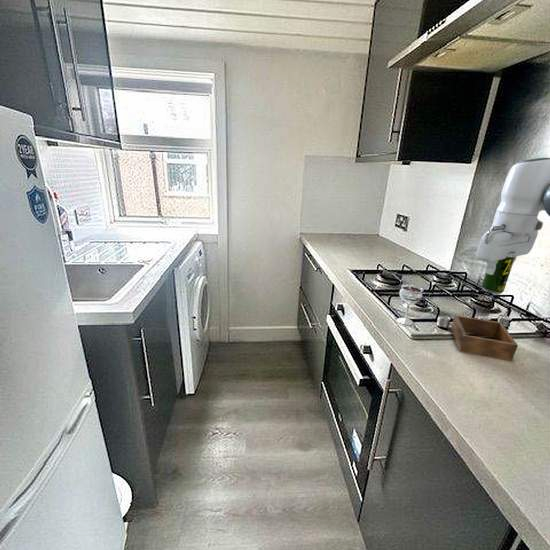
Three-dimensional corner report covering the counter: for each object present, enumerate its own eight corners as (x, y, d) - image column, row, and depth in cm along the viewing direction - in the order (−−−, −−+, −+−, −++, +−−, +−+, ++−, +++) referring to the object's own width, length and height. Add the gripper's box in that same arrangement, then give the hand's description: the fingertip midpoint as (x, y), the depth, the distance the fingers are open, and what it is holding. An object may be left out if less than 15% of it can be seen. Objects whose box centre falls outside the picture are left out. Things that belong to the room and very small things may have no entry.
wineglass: (393, 314, 104) (399, 282, 99) (414, 317, 102) (421, 285, 98) (394, 324, 97) (401, 290, 93) (417, 328, 96) (425, 293, 91)
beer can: (477, 289, 87) (489, 249, 83) (485, 285, 90) (497, 246, 86) (498, 296, 83) (512, 254, 79) (506, 291, 86) (519, 251, 82)
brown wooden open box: (496, 336, 92) (501, 322, 90) (512, 361, 81) (518, 345, 79) (450, 328, 96) (454, 314, 94) (459, 351, 85) (464, 335, 83)
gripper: (503, 229, 73) (487, 281, 78) (547, 223, 81) (530, 270, 86) (477, 223, 78) (463, 273, 83) (520, 218, 87) (506, 264, 92)
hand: (497, 272), depth 85 cm, fingers closed on beer can, 5 cm apart
